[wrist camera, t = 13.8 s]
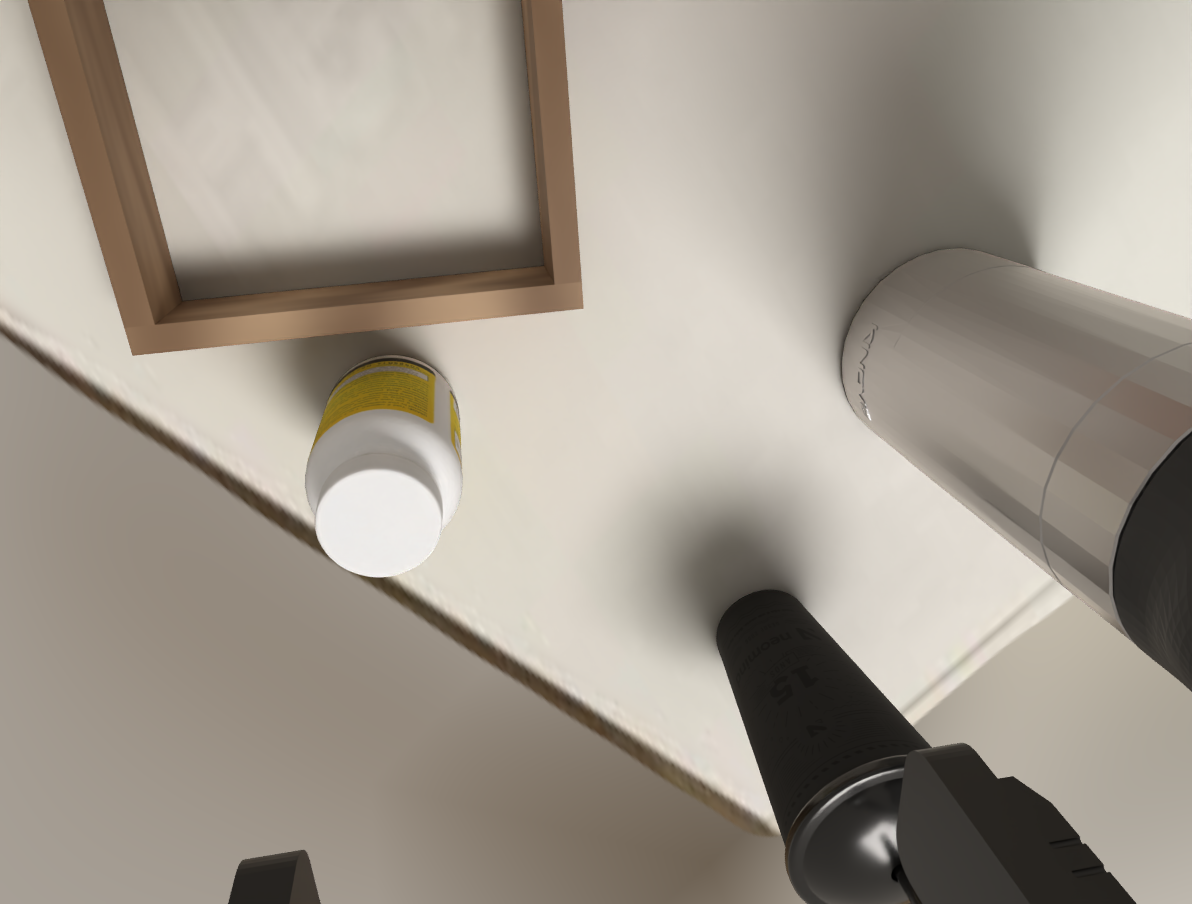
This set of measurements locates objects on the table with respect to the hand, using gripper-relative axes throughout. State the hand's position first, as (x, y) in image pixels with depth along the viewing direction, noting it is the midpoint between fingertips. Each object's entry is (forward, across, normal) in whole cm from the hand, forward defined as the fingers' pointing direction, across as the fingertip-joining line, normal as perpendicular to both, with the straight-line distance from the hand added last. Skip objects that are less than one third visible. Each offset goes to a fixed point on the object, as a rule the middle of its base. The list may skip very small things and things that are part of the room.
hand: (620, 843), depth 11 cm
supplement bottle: (+27, +5, +4) cm, 27 cm away
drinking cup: (+27, -12, +17) cm, 34 cm away
